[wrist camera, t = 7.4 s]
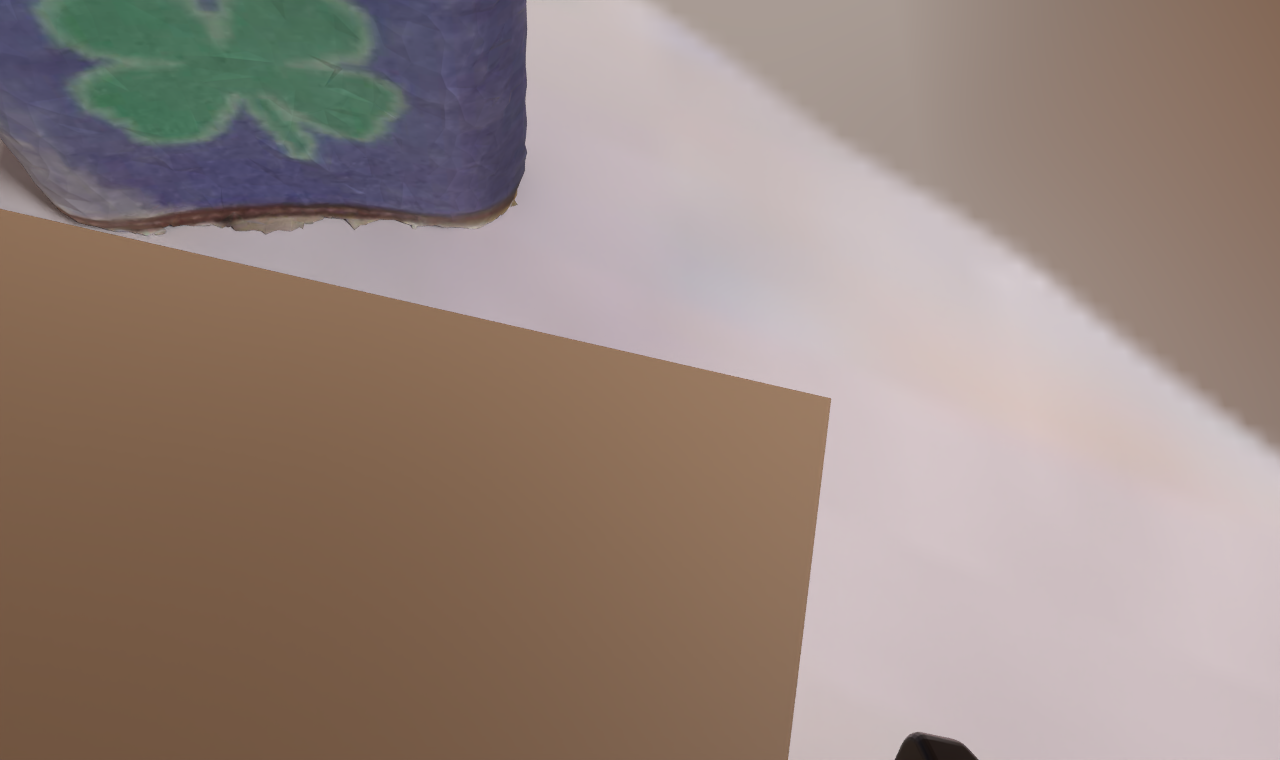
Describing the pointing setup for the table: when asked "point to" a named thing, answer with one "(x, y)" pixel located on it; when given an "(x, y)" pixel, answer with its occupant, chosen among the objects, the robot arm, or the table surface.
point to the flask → (267, 110)
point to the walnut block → (377, 526)
